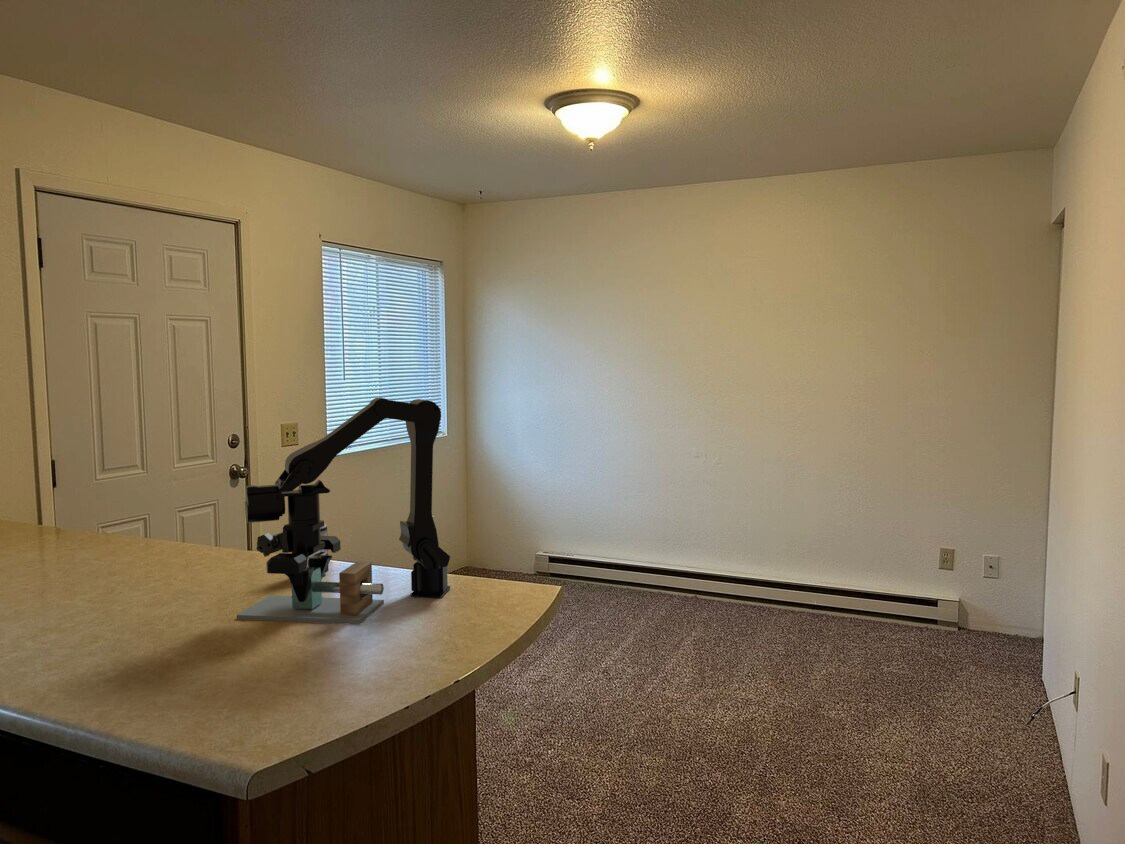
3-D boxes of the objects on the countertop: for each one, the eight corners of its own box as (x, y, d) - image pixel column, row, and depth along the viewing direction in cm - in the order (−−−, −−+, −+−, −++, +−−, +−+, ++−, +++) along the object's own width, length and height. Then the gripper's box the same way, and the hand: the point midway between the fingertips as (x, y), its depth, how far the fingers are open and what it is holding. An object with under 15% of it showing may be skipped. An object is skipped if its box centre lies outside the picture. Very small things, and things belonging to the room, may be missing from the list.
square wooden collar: (372, 602, 152) (371, 562, 151) (356, 616, 144) (354, 573, 143) (358, 602, 152) (356, 561, 152) (340, 615, 144) (339, 573, 144)
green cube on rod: (386, 605, 149) (385, 569, 149) (378, 611, 146) (377, 574, 145) (302, 601, 152) (301, 566, 151) (292, 608, 148) (291, 572, 147)
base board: (384, 603, 154) (383, 599, 154) (359, 624, 142) (359, 620, 142) (269, 599, 157) (269, 595, 157) (236, 619, 145) (236, 614, 145)
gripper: (288, 507, 159) (291, 582, 160) (237, 527, 140) (241, 612, 141) (340, 508, 157) (342, 584, 158) (295, 528, 139) (299, 614, 140)
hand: (307, 598), depth 150 cm, fingers closed on green cube on rod, 4 cm apart
